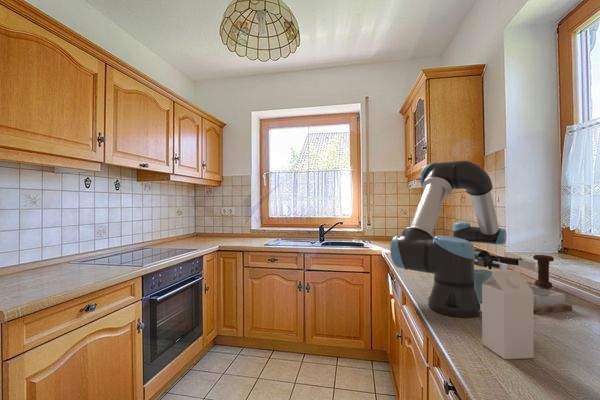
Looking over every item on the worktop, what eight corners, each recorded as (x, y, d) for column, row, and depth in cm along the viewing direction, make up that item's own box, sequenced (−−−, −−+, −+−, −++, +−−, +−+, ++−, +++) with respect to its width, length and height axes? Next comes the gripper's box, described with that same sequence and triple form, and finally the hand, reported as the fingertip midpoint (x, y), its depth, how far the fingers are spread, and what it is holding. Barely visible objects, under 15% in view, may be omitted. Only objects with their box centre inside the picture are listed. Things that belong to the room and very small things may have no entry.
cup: (489, 297, 107) (489, 269, 107) (501, 305, 100) (501, 274, 100) (467, 297, 108) (467, 268, 108) (477, 304, 101) (477, 274, 101)
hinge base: (535, 314, 92) (535, 298, 92) (496, 299, 105) (496, 285, 105) (572, 310, 95) (572, 294, 95) (529, 296, 109) (529, 283, 109)
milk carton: (481, 344, 72) (481, 267, 73) (508, 343, 73) (508, 267, 73) (504, 360, 65) (504, 274, 65) (534, 358, 66) (533, 274, 66)
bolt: (556, 299, 106) (556, 257, 106) (540, 298, 107) (540, 257, 107) (546, 294, 112) (546, 254, 112) (531, 293, 113) (531, 254, 113)
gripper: (499, 263, 141) (545, 274, 121) (455, 266, 135) (496, 278, 115) (498, 248, 141) (545, 256, 121) (455, 250, 135) (496, 259, 115)
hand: (521, 267), depth 118 cm, fingers open, 13 cm apart
